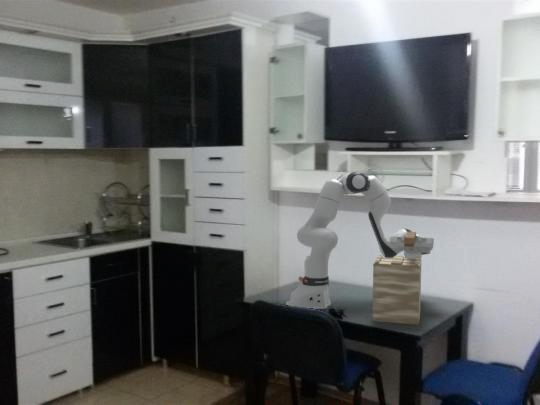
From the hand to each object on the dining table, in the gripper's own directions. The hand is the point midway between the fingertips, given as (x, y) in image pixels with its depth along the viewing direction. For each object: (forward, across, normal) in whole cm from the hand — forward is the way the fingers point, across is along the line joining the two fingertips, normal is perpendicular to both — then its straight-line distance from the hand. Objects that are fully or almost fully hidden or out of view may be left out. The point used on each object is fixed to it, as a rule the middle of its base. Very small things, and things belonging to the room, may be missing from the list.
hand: (411, 236), depth 262 cm
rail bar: (+4, 0, +5) cm, 6 cm away
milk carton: (-44, -54, +17) cm, 71 cm away
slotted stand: (-8, -5, +37) cm, 38 cm away
